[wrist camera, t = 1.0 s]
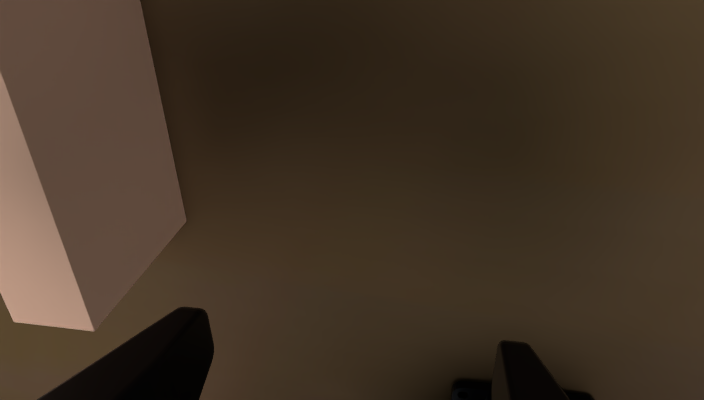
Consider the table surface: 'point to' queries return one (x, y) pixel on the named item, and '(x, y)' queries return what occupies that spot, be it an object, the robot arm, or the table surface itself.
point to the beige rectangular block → (80, 159)
